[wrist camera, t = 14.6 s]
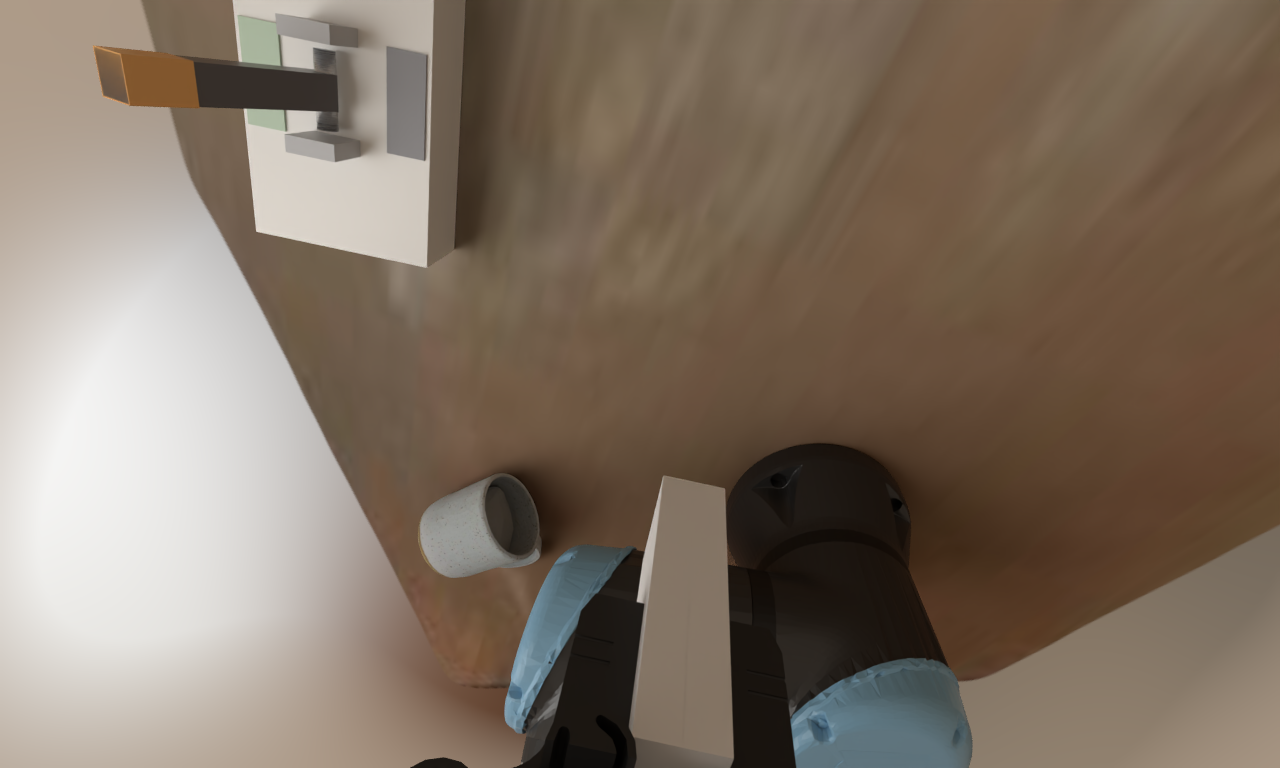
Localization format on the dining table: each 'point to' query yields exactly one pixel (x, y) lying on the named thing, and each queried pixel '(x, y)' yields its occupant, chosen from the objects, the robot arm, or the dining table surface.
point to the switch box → (360, 125)
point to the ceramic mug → (481, 528)
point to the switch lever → (219, 83)
